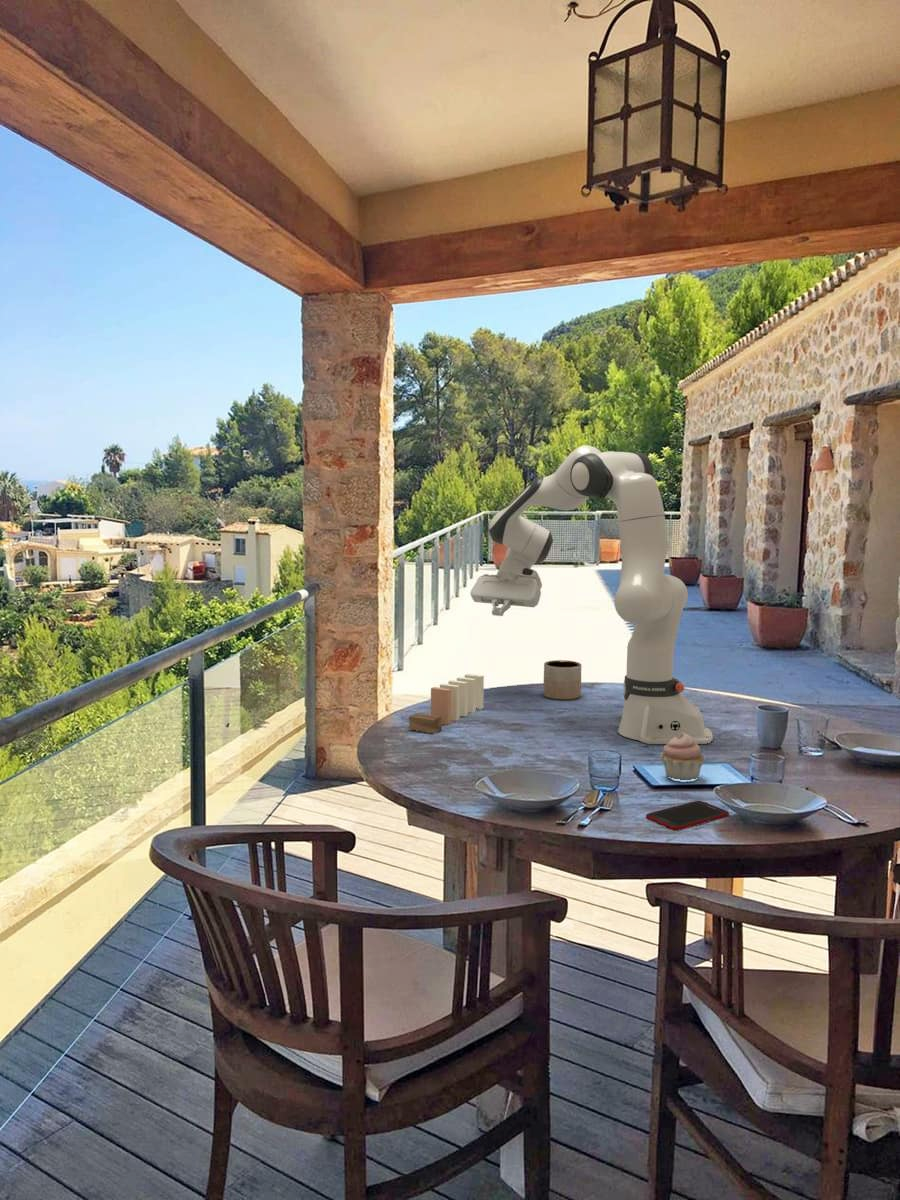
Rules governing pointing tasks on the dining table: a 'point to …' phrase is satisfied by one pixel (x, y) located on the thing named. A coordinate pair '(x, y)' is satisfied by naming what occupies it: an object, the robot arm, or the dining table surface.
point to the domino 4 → (470, 693)
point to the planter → (562, 679)
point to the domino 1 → (441, 704)
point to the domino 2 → (454, 700)
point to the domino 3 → (462, 696)
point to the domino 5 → (478, 689)
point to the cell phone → (687, 815)
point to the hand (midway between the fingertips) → (496, 614)
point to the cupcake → (682, 758)
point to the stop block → (425, 723)
